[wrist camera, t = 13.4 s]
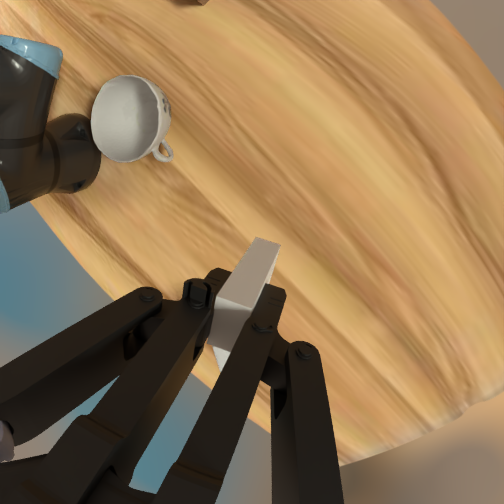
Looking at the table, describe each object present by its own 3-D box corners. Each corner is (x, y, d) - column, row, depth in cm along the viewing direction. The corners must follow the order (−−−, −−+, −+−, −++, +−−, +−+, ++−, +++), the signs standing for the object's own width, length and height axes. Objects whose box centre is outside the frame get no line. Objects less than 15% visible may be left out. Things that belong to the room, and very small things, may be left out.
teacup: (109, 117, 45) (76, 120, 38) (156, 62, 39) (125, 56, 32) (159, 182, 48) (130, 194, 40) (214, 129, 42) (190, 133, 35)
